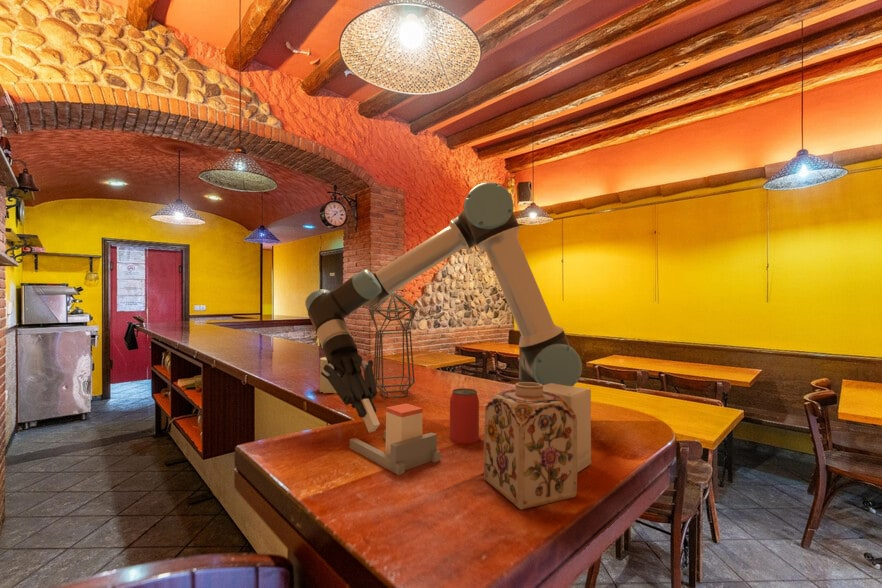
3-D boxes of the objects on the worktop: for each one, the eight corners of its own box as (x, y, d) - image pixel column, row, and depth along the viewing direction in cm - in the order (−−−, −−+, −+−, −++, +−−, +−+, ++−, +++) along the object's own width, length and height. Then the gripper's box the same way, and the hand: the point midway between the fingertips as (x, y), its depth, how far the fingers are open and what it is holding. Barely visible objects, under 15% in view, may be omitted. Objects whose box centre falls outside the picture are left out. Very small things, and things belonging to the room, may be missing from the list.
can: (314, 393, 136) (315, 358, 136) (326, 387, 145) (327, 354, 145) (339, 394, 134) (340, 359, 135) (350, 388, 143) (350, 355, 144)
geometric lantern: (420, 399, 129) (419, 292, 129) (372, 403, 125) (371, 293, 125) (411, 388, 144) (410, 292, 144) (368, 391, 140) (367, 293, 140)
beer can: (477, 451, 84) (477, 395, 84) (446, 448, 85) (447, 393, 86) (480, 441, 91) (480, 388, 91) (452, 438, 92) (452, 387, 92)
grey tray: (343, 455, 81) (343, 425, 81) (391, 442, 89) (391, 414, 89) (401, 490, 66) (402, 453, 66) (453, 470, 74) (453, 437, 74)
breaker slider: (385, 458, 76) (386, 407, 76) (406, 452, 79) (406, 403, 80) (401, 466, 72) (401, 413, 72) (421, 459, 76) (422, 408, 76)
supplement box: (592, 464, 78) (593, 388, 78) (571, 478, 72) (572, 396, 72) (551, 451, 84) (551, 381, 85) (528, 463, 78) (529, 387, 78)
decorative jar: (519, 512, 60) (520, 393, 60) (481, 480, 71) (482, 379, 71) (580, 497, 65) (580, 387, 65) (536, 469, 75) (536, 375, 76)
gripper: (354, 350, 102) (391, 431, 89) (306, 354, 93) (340, 445, 81) (366, 331, 98) (406, 413, 86) (317, 333, 89) (354, 425, 77)
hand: (374, 428), depth 83 cm, fingers closed
